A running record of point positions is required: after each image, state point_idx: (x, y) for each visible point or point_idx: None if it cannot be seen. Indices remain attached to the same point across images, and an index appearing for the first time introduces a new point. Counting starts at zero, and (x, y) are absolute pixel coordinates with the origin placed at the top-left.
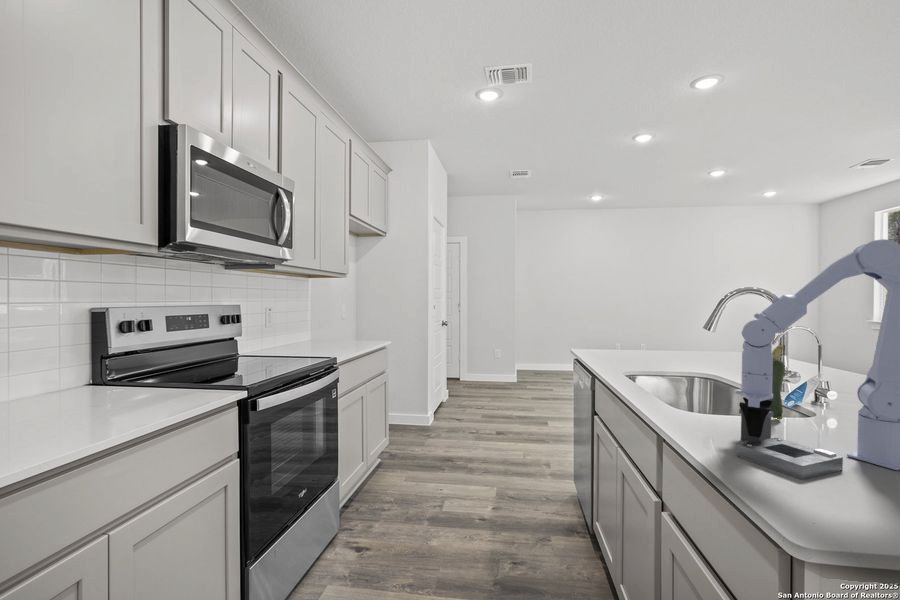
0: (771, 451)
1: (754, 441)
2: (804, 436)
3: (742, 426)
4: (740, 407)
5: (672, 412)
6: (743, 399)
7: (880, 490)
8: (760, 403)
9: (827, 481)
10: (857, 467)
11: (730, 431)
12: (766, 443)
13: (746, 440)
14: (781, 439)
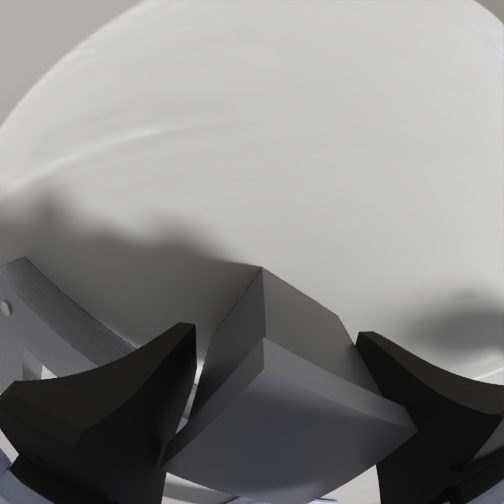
0: (14, 361)
1: (57, 334)
2: None
3: (259, 305)
4: (9, 386)
5: (492, 27)
6: (486, 413)
7: None
8: (410, 487)
9: None
10: (182, 484)
11: (393, 215)
12: (69, 371)
13: (244, 293)
14: None
